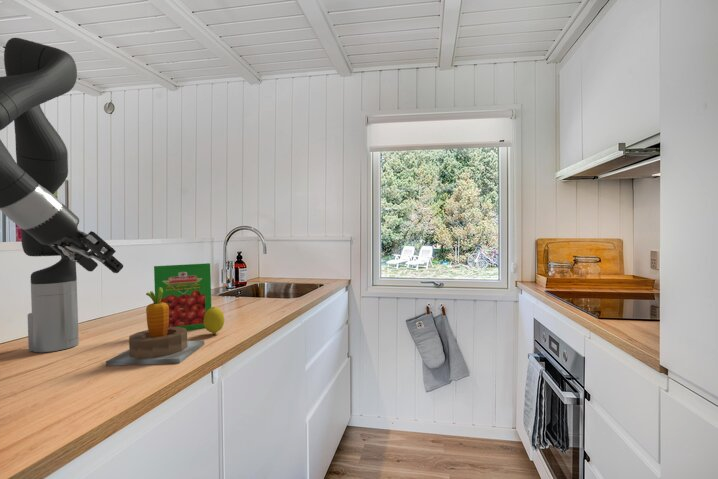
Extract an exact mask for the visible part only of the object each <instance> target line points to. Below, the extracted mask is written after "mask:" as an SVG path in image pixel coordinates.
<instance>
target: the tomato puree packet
mask: <svg viewBox="0 0 718 479" xmlns="http://www.w3.org/2000/svg"><path fill="white" fill-rule="evenodd" d="M153 274H154V275H153V276H154V280H153V281H154V294H155V295H156V298H157V296H158V288H159V287H161V288H163V294H162V298H161V302H164V303H166V304H167V305H168V306H169V326H168V327H180V328H186V330H187V331H190V330H199V329H206V328H205V327H204V316H205V313H206V312H207V311H208V310H209V309H211V308H212V280H211V279H212V278H211V274H212V273H211V263H210V262H206V263H191V264H190V263H189V264H171V265H170V264H169V265H168V264H167V265H154V266H153Z"/></svg>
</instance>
